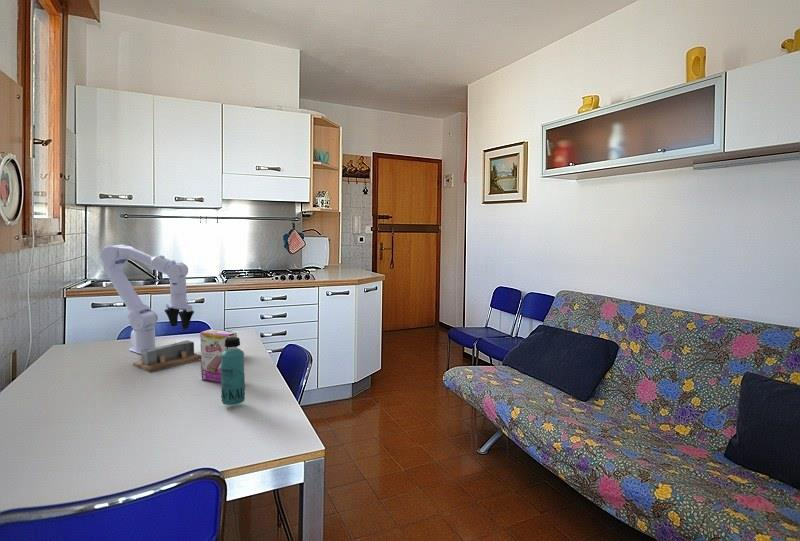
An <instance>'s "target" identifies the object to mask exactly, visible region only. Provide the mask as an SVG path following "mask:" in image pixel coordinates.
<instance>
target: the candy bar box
mask: <svg viewBox="0 0 800 541" xmlns="http://www.w3.org/2000/svg"><path fill="white" fill-rule="evenodd" d="M227 331H228V330H219V329H218V330H217V329H206V330H203V331H201V332H199V333H200V355H201V360H200V362H201V367H200V368H201V380H202V381H207V382H213V383H219V384H221V353H222V352H223V351H224V350H226V349H229V348H238V346H237V347H225V339H226V338H230V337H238V333H237V332H234V331H232V332H227Z"/></svg>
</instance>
